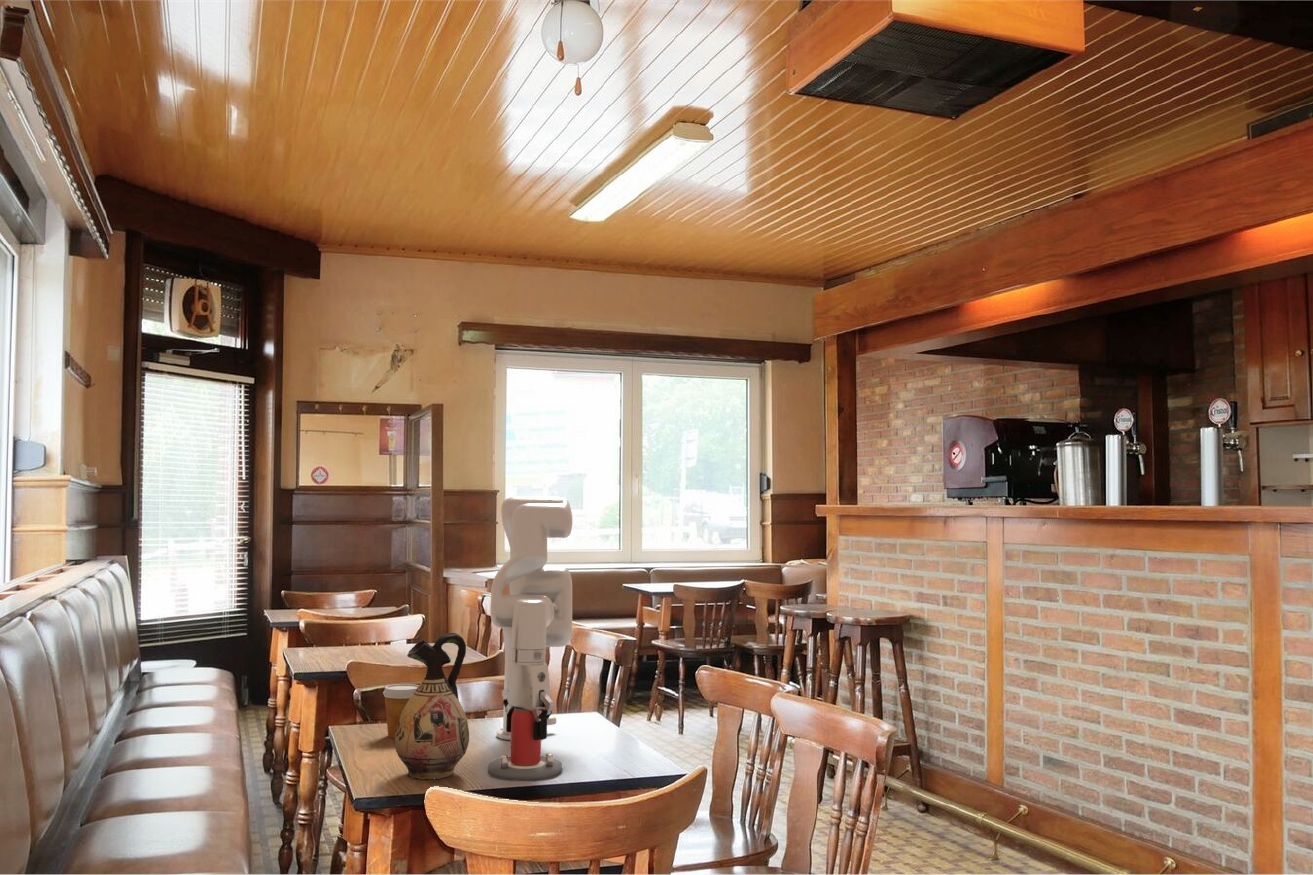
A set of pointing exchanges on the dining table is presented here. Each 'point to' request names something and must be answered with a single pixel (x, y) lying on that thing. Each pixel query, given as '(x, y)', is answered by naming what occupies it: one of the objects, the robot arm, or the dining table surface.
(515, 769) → the pin plate
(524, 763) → the beer can
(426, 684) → the ceramic jug
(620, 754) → the dining table surface
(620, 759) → the dining table surface
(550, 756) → the steel pins
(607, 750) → the dining table surface
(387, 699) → the disposable coffee cup
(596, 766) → the dining table surface
